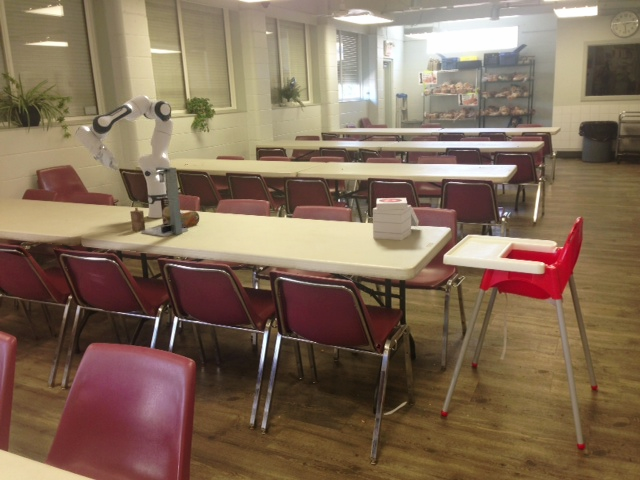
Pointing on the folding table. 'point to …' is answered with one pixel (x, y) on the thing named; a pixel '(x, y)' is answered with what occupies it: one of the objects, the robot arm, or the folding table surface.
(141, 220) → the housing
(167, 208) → the coffee box
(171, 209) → the press
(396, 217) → the pizza boxes
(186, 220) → the tin
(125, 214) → the folding table surface
